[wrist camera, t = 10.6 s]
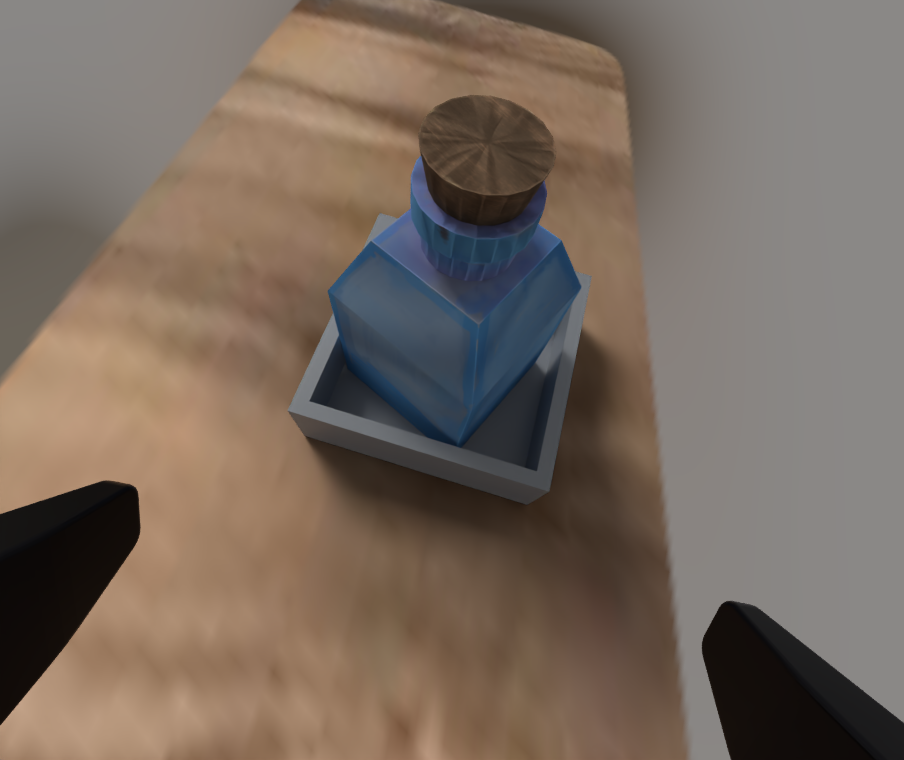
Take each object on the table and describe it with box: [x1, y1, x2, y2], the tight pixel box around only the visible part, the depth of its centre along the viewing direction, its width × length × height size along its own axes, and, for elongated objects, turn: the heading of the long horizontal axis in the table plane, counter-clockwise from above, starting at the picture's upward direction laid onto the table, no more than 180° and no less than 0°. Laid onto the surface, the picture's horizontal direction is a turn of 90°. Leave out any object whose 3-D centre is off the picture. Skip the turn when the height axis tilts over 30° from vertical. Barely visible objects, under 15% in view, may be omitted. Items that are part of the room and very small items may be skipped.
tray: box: [288, 213, 592, 505], centre depth 21 cm, size 10×10×3 cm
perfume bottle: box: [328, 95, 582, 448], centre depth 16 cm, size 6×6×12 cm
